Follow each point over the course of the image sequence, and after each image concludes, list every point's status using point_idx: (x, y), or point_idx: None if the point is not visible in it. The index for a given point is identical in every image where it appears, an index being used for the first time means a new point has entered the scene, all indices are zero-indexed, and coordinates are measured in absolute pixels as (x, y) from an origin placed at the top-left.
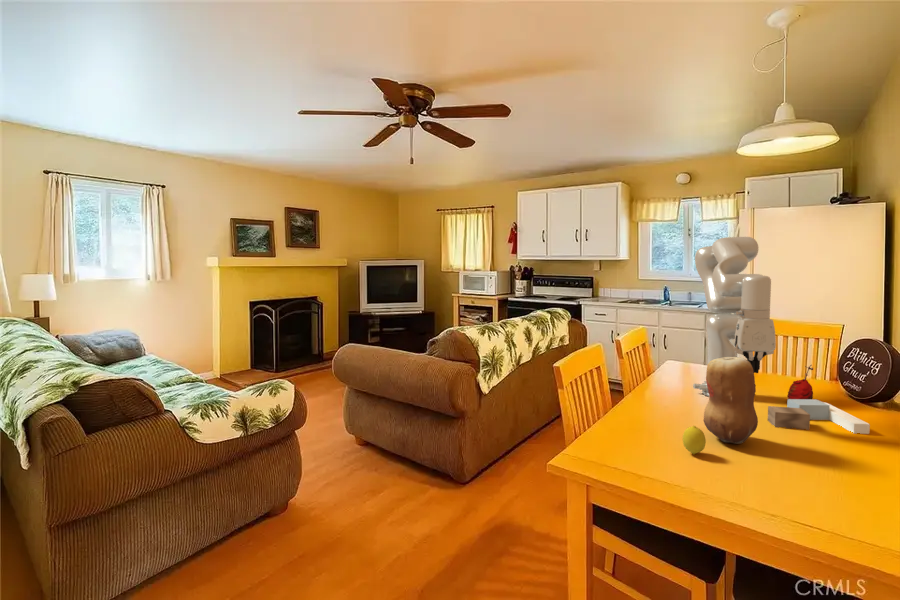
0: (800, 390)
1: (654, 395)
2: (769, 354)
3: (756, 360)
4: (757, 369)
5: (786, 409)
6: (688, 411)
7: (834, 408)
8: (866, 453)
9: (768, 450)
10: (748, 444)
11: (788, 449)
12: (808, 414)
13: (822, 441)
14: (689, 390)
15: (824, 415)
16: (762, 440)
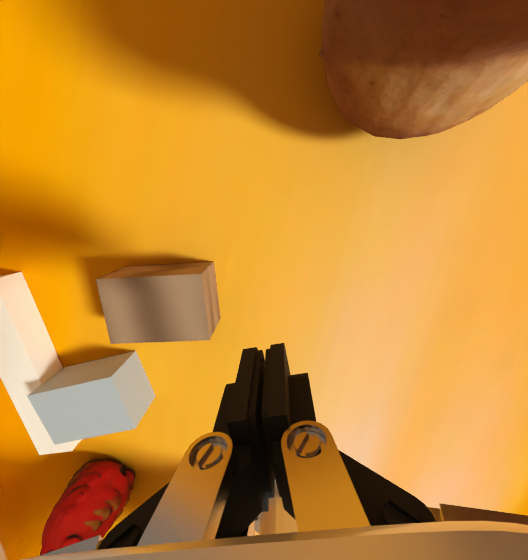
0: (82, 504)
1: (506, 463)
2: (69, 546)
3: (246, 435)
4: (248, 361)
5: (158, 317)
6: (441, 336)
7: (25, 407)
8: (14, 101)
9: (285, 10)
10: None
11: (220, 49)
12: (100, 279)
13: (109, 170)
14: None
15: (64, 372)
16: (280, 114)
